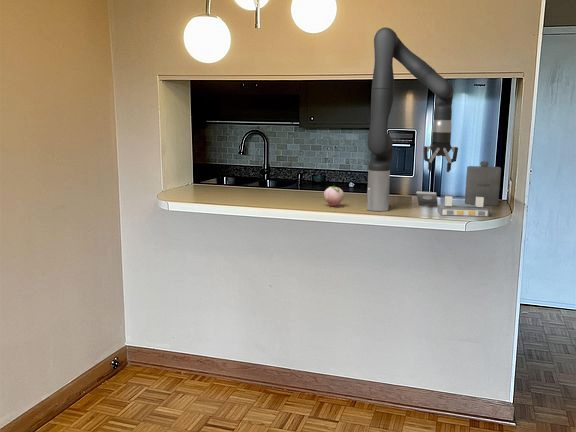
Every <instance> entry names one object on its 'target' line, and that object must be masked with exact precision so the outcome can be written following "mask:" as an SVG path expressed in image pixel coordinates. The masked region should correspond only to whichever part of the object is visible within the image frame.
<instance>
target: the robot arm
mask: <svg viewBox="0 0 576 432" xmlns="http://www.w3.org/2000/svg"><path fill="white" fill-rule="evenodd" d="M373 47H374V51H373V53H374V65H373V66H374V68H373V74H372V81H371V94H370V95H371V97H370V99H371V100H370V124H369V131H368V136H367V149H368V150H369V151H370V152H371V153H370V159H369V160H370V161H369V163H368V165H367V167H368V168H367V172H368V173H367V190H366V191H367V192H366V210H367V211H371V212H372V211H374V212H385V211H389V207H390V206H389V199H390V179H391V178H390V177H391V165H392V160H393V147H394V146H393V138H392V137H391V135H390V134H388V123H389V117H390V114H391V110H392V108H393V104H394V96H395V95H394V93H395V79H394V78H395V76H394V68H393V60H394V59H395V60H396V61H397V62H399V63H400V64H401V65H402V66H403V67H404V68H405V69H406V70H407V71H408V72H409V73H410V74H411V75H413V77H414V78H415V79H417V80H418V81H419V82H420V83H421V84H422V85H424V86H426V87H427V88H428V89H429V90H430V91H431V92H432V93H433V94H434V95H435V104H434V105H435V107H434V109H433V121H432V128H431V131H432V132H431V144H430V145H429V146H423V161H425V162H427V170H428V171H429V173H430V172H431V173H432V171H433V161H434V159H435V158H436V157H440V156H441V157H445V160H446V161H447V162H446V173H450V171H451V170H452V163H454V162H457V159H458V158H457V157H458V150H459V148H458V146H452V145H451V142H452V141H451V140H452V139H451V137H452V115H453V114H452V111H453V108H452V106H453V97H454V87H453V85H452V84H451V83H450V82H449V81H448V80H447V79H445V78H444V77H443V76H441V74H439V73H438V72H437V71H436V70H435V69H434V68H433V67H432V66H431V65H430V64H429V63H427V62H426V61H425V60H423V59H422V58H421V57H419V56H418V55H416V54H415V53H414V52H412V51H411V50H410V49H409V48H408V47H407V46H406V45H405V44H404V43H403V42H402V41H401V39H400V38H399V36H398V34H397V33H396V32H395V31H394V30H393V29H392V28H390V27H381V28H379V29H378V30H377V31H376V33H375V34H374V37H373ZM430 150H431V152H432V153H431V155H430V157H429V158H428V152H429V151H430ZM450 151H451V152H452V157H450V154H449V153H450Z"/></svg>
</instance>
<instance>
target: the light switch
mask: <svg viewBox="0 0 576 432" xmlns="http://www.w3.org/2000/svg"><path fill="white" fill-rule="evenodd" d="M415 194H416V198H417V203H418V206H432V205H434V206H435V207H438V205H439V203H438V196H437V195H438V194H437V192H436V191H435V192H434V191H433V192H432V191H419V190H418V191H416V193H415Z"/></svg>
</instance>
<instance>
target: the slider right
mask: <svg viewBox="0 0 576 432" xmlns="http://www.w3.org/2000/svg"><path fill="white" fill-rule="evenodd" d="M483 202H484V197H483V196H476V203H475V205H474V206H476V207H483V206H484V205H483Z"/></svg>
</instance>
